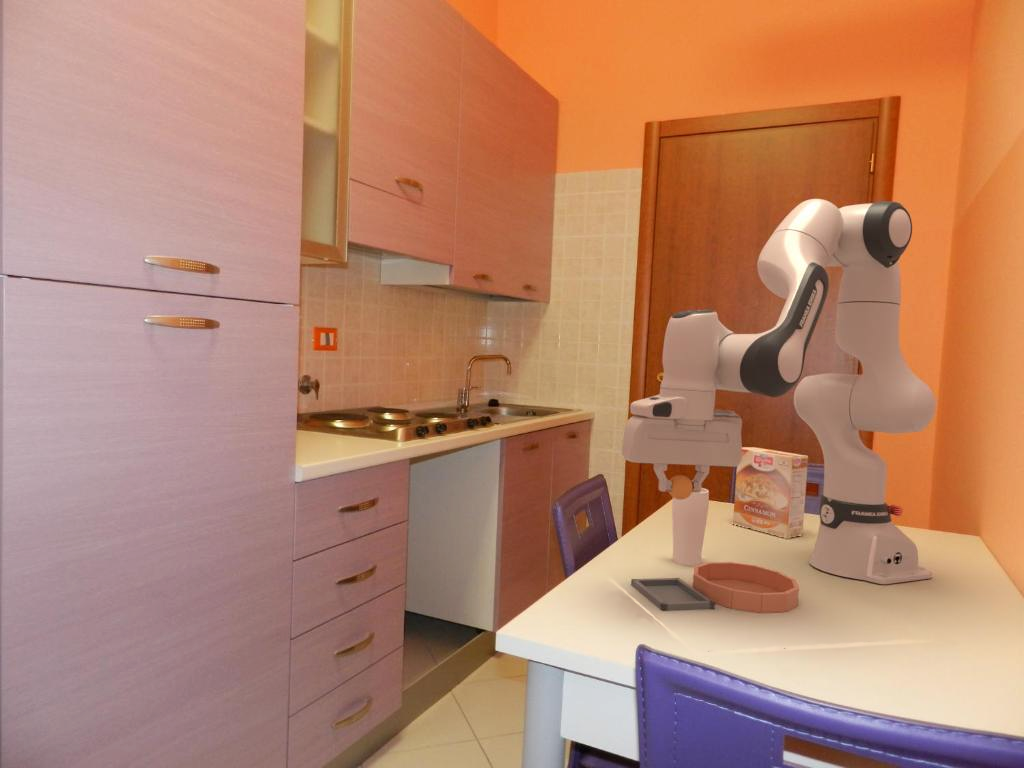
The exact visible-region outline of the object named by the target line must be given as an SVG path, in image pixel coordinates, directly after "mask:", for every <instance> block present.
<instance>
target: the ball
mask: <svg viewBox="0 0 1024 768" xmlns="http://www.w3.org/2000/svg"><path fill="white" fill-rule="evenodd" d="M690 480H691V479H689V477H688V476H685V475H683V474H678V475H677V474H676V475H674V476H673V477H671V478H670V480H669V481H672V486H671V488H672V489H671V492H668V493H669V495H670V496H671V497H672V498H673V497H674V498H675V499H679V500H682V499H686V498H688V497H689V496H690V495H691V493H692V490H693V485H692V482H691V481H690Z"/></svg>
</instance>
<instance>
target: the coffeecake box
mask: <svg viewBox="0 0 1024 768" xmlns="http://www.w3.org/2000/svg"><path fill="white" fill-rule="evenodd" d="M808 462H809V455H804V454H798V453H792V452H786V451H779V450H774V449H768V448H767V449H766V448H762V447H755V446H752V447H751V446H749V447H748V446H746V447H745V446H744V447H743V446H742V460H741V462H740V463H739V465H738V466H736V474H735V475H736V476H735V477H736V478H735V487H734V489H735V490H734V501H733V502H734V503H733V519H732V525H733V524H736V525H740V526H744V527H747V528H751V529H755V530H758V531H762V532H765V533H769V534H773V535H777V536H780V537H784V538H790V537H795V536H799V535H802V536H803V534H804V533H803V532H804V531H803V530H804V519H805V515H804V514H805V507H806V506H805V505H806V492H807V491H806V490H807V478H808V477H807V476H808V466H809V465H808ZM747 528H746V529H747ZM751 529H750V530H751ZM758 531H757V532H758ZM762 532H761V533H762ZM765 533H764V534H765ZM769 534H768V535H769ZM773 535H772V536H773ZM780 537H779V538H780ZM784 538H783V539H784ZM795 538H796V537H795Z"/></svg>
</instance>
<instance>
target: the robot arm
mask: <svg viewBox="0 0 1024 768" xmlns="http://www.w3.org/2000/svg"><path fill="white" fill-rule="evenodd" d="M912 235H913V222H912V218H911V215H910V212H909V211H908V210H907V209H906V208H905V207H904V205H902V204H901V203H900V202H896V201H889V200H888V201H887V200H885V201H884V200H880V201H879V200H878V201H875V202H873V203H872V202H871V203H870V202H869V203H860V204H859V203H858V204H853V205H852V204H851V205H844V206H842V207H840V208H839V207H837V205H835V204H834V203H832V202H830V201H828V200H826V199H822V198H810V199H807V200H804V201H802V202H800V203H799V204H798V205H797V206H795V207H794V208H793V209H792V210H791V211H790V212H789V213H788V214H787V215H786V216H785V217H784V219H782V221H781V222H780V223H779V224H778V226H777V227H776V228H775V230H774V231H773V232H772V234H771V235H770V237H769V239H768V240H767V242H766V243H765V244H764V246H763V248H762V249H761V250H760V254H759V256H758V259H757V263H756V267H757V272H758V277H759V278H760V280H761V282H762V284H763V285H764V286H765V287H766V288H767V290H769V291H770V292H771V293H772V294H774V295H776V297H778V298H781V299H783V300H784V299H785V300H786V301H785V303H784V306H783V308H782V310H781V312H780V315H779V318H778V320H777V322H776V324H775V326H774V327H772V328H771V329H769V330H766V331H764V332H759V333H734V331H732V330H730V329H729V328H727V327H726V326H725V325H724V324H723V323H722V322H721V321H720V320H719V315H718V313H717V311H715V310H713V309H694V310H683V311H682V310H681V311H678V312H675V313H673V314H672V315H671V316H670V317H669V320H668V323H667V325H666V329H665V334H664V341H663V349H662V359H661V361H662V368H663V376H662V380H661V383H660V385H659V387H660V388H659V394H656V395H652V396H649V397H646V398H642V399H638V400H635V401H633V402H631V403H630V408H629V409H630V411H629V412H630V414H632V416H631V417H630V418H629V419H628V420H627V422H626V424H625V427H624V432H623V437H622V438H623V439H622V445H621V453H622V456H623V458H624V459H625V460H626V461H628V462H630V463H637V464H653V470H654V473H655V476H656V477H657V479H658V491H660V492H662V493H663V492H665V493H666V492H667V493H669V492H671V489H672V488H671V486H672V481H670V480H669V479H668V478H667V476H666V474H665V471H667V470H668V465H681V466H682V465H686V466H687V465H688V466H695V471H697V472H696V473H695V476H694V477H693V479H692V480H691V479H690V481H691V482H692V485H693V490H692V492H695V493H700V492H701V488H703V487H702V485H703V482H704V481H705V479H706V478H707V477H708V475H709V474H710V467H711V466H712V467H730V468H731V467H733V468H734V467H735V468H737V466H738V465H739V463H740V462H741V460H742V447H743V444H742V428H743V427H742V426H743V420H742V418H741V416H740V415H739V414H738V413H736V411H735V410H722V409H715V405H716V404H715V403H716V390H720V391H721V390H722V391H730V392H737V393H738V392H739V393H751V394H755V395H759V396H760V395H761V396H764V397H770V398H778V397H782V396H784V395H785V394H787V393H789V391H790V390H792V388H793V387H794V386H796V384H797V383H798V382H799V383H798V384H797V386H796V388H795V390H794V393H793V406H794V409H795V412H796V413H797V415H798V416H799V418H800V419H801V420H802V421H804V423H806V424H807V425H808V427H810V429H811V430H812V431H813V433H814V434H815V436H816V439H817V440H818V442H819V445H820V448H821V450H822V455H823V461H824V462H823V467H824V468H823V494H821V495H820V502H819V520H820V522H819V527H818V531H817V536H816V540H815V544H814V548H813V551H812V554H811V557H810V559H809V561H808V562H809V564H810V565H811V566H812V567H814V568H815V569H818V570H819V571H822V572H825V573H829V574H832V575H836V576H839V577H845V578H848V579H849V578H851V579H855V580H861V581H866V582H871V583H874V584H880V585H890V584H896V583H904V582H910V581H911V582H912V581H922V580H926V579H932V578H933V577H932V572H930V570H928V569H927V568H925V567H923V566H921V565H919V551H918V547H917V545H916V543H915V542H914V541H913V540H912V539H911V538H910V537H908V535H906V534H905V532H903V531H902V530H901V529H900V528H899V527H897V525H895V524H894V523H893V522H892V521H893V520H892V516H893V515H894V516H896V517H901V516H902V515H903V514H904V508H903V507H902V506H900V505H896V504H890V505H888V504H887V503H886V492H887V481H888V480H887V479H888V468H887V467H888V466H887V464H886V462H885V460H884V459H883V457H881V456H880V455H879V454H878V453H877V452H875V451H873V450H872V449H870V448H869V447H866V445H865V444H864V443H863V442H862V439H861V438H860V432H859V431H866V432H873V433H874V432H877V433H884V434H893V435H894V434H895V435H896V434H909V433H910V434H911V433H920V432H922V431H923V430H924V429H926V428H927V427H928V426H929V425H930V424H931V422H932V420H933V419H934V417H935V414H936V410H937V401H936V397H935V395H934V393H933V391H932V389H931V388H930V387H929V385H928V384H927V383H925V382H924V380H922V379H920V378H919V377H918V376H917V375H916V374H915V373H914V372H913V371H912V369H911V368H910V367H909V366H908V364H907V362H906V360H905V358H904V356H903V354H902V349H901V346H900V345H901V344H900V313H901V303H902V302H901V300H902V299H901V298H902V283H901V280H902V279H901V270H900V264H899V260H900V258H901V256H902V255H903V254H904V253H905V251H906V250H907V248H908V246H909V244H910V242H911V239H912ZM827 267H841V269H842V275H841V279H840V283H839V288H838V289H839V290H838V294H837V295H838V297H837V298H838V299H837V307H836V308H837V309H836V317H835V318H836V320H835V321H836V322H835V333H834V339H835V342H836V344H837V346H838V347H839V349H841V350H842V351H843V352H844V353H846V354H848V355H850V356H852V357H854V358H856V359H858V361H859V363H860V364H861V368H862V374H852V373H851V374H849V373H831V372H830V373H829V372H828V373H820V374H813V375H807V376H805V377H803V379H801V376H802V373H803V369H804V364H805V358H806V353H807V351H808V350H807V349H808V348H809V347H808V346H809V345H810V341H811V340H812V337H813V334H814V332H815V328H816V326H817V324H818V320H819V318H820V315H821V313H822V311H823V308H824V306H825V303H826V299H827V296H828V291H829V286H830V281H829V275H828V272H827V271H826V270H825V269H826V268H827ZM800 379H801V380H800ZM799 380H800V381H799ZM891 515H892V516H891Z"/></svg>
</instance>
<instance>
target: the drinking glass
mask: <svg viewBox="0 0 1024 768" xmlns="http://www.w3.org/2000/svg"><path fill="white" fill-rule="evenodd" d="M709 496H710V491H709V490H708V488H704V487H701V492H700V493H695V492H692V493H691V495H690V496H689V497H688V498H686V499H682V500H679V499H675V498H674V497H672V507H671V508H672V512H671V513H672V516H671V517H672V562H673V563H675V564H676V565H680V566H684V567H695V566H698V565H701V564H702V552H703V545H704V539H705V533H706V529H707V528H706V527H707V526H706V525H707V521H708V516H709V515H708V514H709V503H710V502H709V501H710V498H709Z"/></svg>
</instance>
